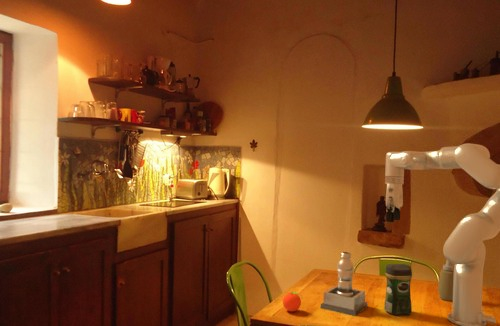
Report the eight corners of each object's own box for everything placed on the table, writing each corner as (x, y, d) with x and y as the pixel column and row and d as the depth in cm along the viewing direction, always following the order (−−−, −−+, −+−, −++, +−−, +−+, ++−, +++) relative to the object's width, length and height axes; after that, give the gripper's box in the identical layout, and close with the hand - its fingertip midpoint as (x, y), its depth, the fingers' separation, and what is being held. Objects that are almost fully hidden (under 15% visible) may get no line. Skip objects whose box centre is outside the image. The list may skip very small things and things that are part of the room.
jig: (367, 306, 169) (367, 291, 169) (355, 315, 158) (355, 299, 158) (334, 299, 177) (334, 284, 177) (320, 307, 165) (321, 292, 165)
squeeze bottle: (437, 300, 181) (438, 257, 181) (438, 295, 188) (439, 254, 188) (458, 303, 177) (459, 260, 177) (458, 298, 184) (459, 257, 184)
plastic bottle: (353, 306, 163) (355, 255, 163) (336, 305, 165) (337, 253, 165) (353, 301, 170) (354, 251, 170) (335, 300, 171) (337, 250, 171)
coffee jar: (403, 308, 168) (404, 261, 168) (414, 315, 160) (416, 266, 160) (380, 309, 166) (382, 262, 166) (391, 316, 158) (392, 266, 158)
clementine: (297, 307, 166) (298, 288, 166) (306, 313, 159) (307, 294, 159) (279, 308, 163) (279, 290, 163) (287, 315, 156) (287, 295, 156)
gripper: (398, 181, 171) (396, 223, 171) (408, 180, 186) (407, 219, 185) (379, 180, 175) (378, 221, 175) (390, 180, 190) (389, 218, 190)
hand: (393, 220), depth 180 cm, fingers open, 9 cm apart
